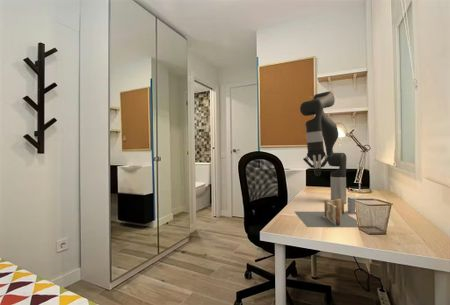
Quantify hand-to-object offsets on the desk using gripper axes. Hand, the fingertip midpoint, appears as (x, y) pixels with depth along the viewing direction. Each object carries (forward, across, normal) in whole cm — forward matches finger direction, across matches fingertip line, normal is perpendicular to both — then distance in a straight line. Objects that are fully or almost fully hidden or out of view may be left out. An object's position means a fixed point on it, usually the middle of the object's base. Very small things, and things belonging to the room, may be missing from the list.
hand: (318, 175), depth 111 cm
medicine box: (+26, -21, -16) cm, 37 cm away
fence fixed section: (+23, -8, -9) cm, 26 cm away
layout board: (+23, -3, -2) cm, 23 cm away
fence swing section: (+22, -5, +2) cm, 23 cm away
